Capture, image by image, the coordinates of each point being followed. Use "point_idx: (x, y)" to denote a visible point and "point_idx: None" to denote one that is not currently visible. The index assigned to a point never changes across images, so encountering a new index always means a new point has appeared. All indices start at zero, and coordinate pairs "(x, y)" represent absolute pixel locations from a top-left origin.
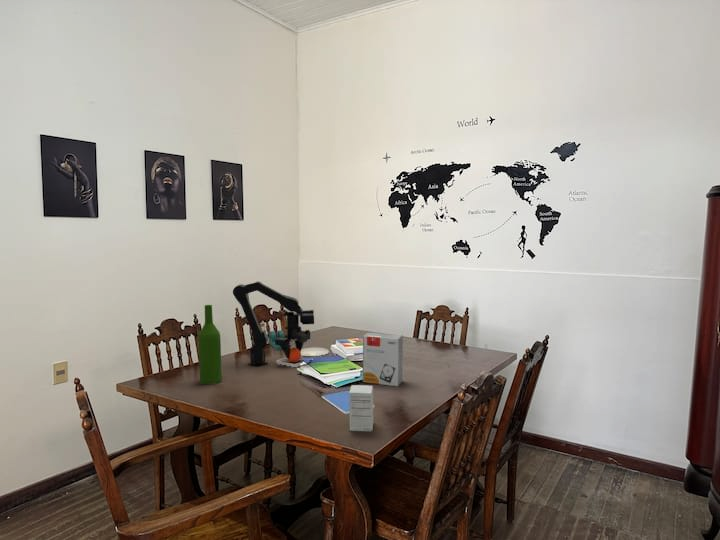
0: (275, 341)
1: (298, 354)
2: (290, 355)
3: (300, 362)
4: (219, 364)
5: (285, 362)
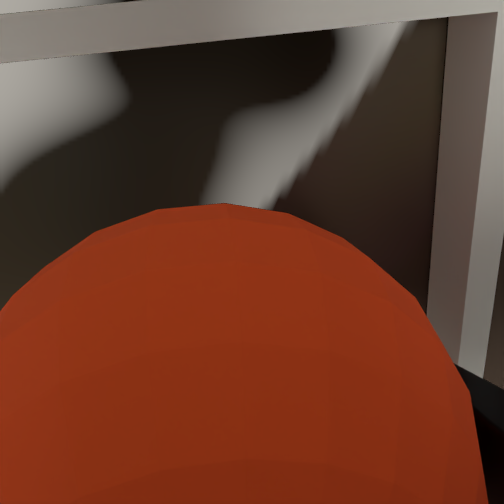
0: None
1: (208, 258)
2: (464, 389)
3: (262, 6)
4: None
5: (483, 317)
